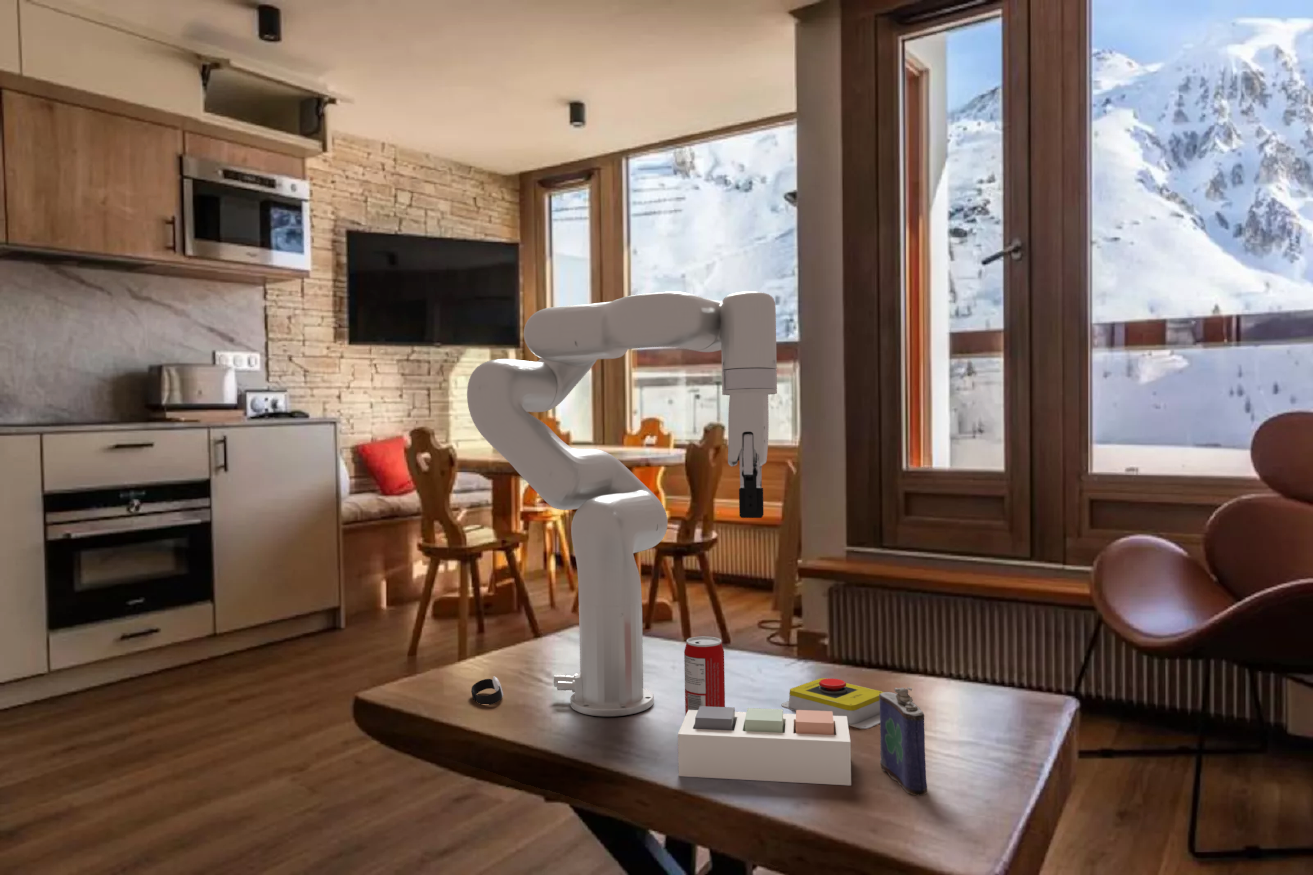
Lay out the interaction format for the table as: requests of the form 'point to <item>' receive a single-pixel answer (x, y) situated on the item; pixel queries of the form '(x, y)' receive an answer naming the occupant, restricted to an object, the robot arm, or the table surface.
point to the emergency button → (838, 701)
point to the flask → (903, 740)
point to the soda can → (704, 673)
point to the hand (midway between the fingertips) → (751, 517)
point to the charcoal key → (715, 718)
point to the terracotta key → (814, 722)
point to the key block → (765, 753)
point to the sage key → (764, 720)
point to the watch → (487, 685)
